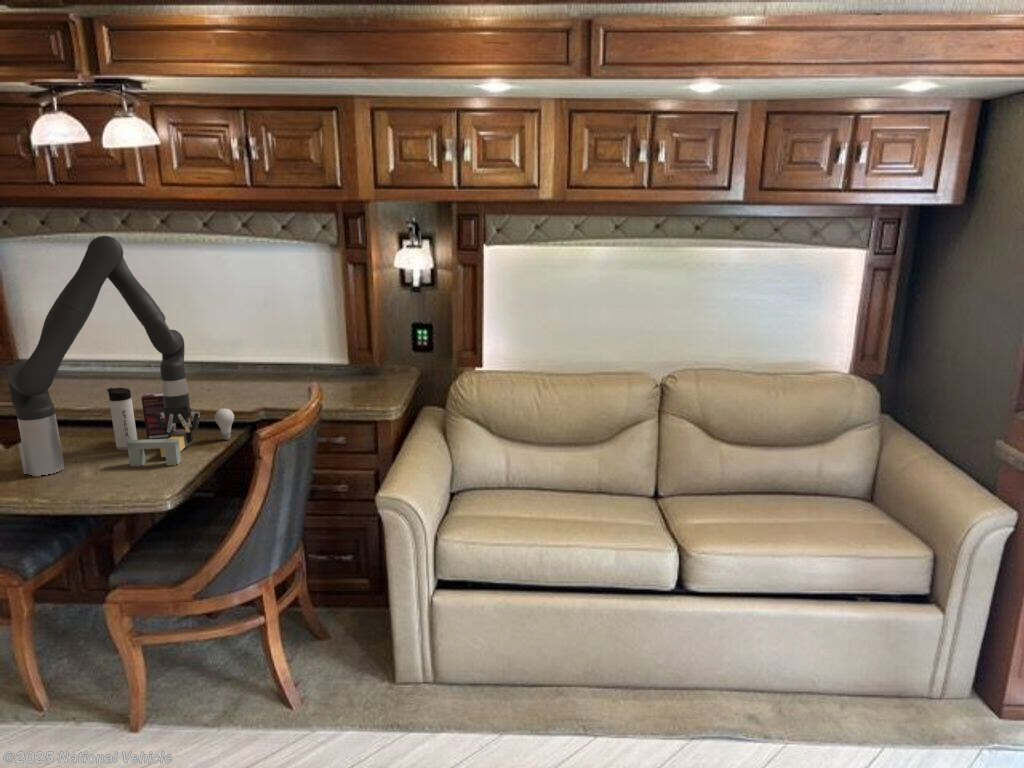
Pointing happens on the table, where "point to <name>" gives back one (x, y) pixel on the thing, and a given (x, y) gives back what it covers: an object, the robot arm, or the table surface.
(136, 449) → the grey-blue bridge block
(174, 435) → the plug
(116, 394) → the travel mug
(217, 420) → the lightbulb
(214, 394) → the table surface
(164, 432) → the supplement box
